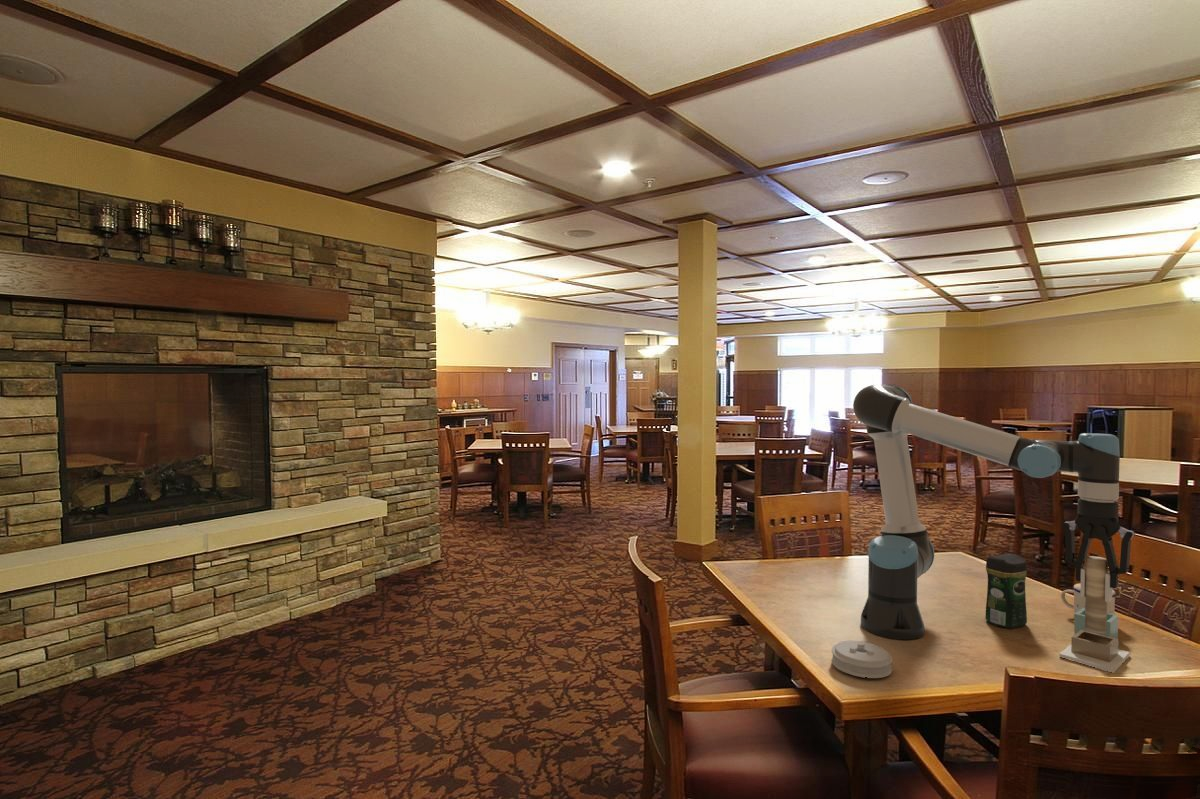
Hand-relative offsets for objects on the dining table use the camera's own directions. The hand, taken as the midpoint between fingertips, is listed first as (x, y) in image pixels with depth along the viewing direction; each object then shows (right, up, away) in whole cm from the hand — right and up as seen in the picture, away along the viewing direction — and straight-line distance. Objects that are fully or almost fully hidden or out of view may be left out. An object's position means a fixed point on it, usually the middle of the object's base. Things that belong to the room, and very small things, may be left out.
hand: (1096, 597), depth 146 cm
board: (0, -14, 0) cm, 14 cm away
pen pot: (+9, -14, +11) cm, 20 cm away
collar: (0, -14, 0) cm, 14 cm away
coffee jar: (-8, -14, +21) cm, 26 cm away
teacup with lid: (+16, -14, +23) cm, 32 cm away
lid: (-58, -15, -5) cm, 60 cm away
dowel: (0, -8, 0) cm, 8 cm away
